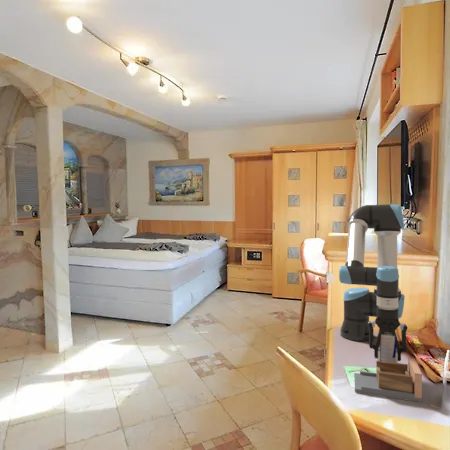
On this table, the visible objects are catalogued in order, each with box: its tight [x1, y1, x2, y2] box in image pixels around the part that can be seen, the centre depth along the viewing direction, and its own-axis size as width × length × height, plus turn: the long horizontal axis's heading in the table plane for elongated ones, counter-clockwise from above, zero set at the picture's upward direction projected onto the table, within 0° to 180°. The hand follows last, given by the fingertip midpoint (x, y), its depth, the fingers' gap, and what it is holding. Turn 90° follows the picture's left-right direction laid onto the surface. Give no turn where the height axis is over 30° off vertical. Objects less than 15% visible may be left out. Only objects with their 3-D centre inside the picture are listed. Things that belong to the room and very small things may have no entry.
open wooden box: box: [375, 360, 413, 393], centre depth 117 cm, size 10×10×6 cm
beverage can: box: [379, 332, 397, 363], centre depth 129 cm, size 6×6×15 cm
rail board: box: [353, 357, 423, 403], centre depth 118 cm, size 12×20×9 cm, turn 70°
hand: (387, 367), depth 130 cm, fingers closed on beverage can, 5 cm apart
